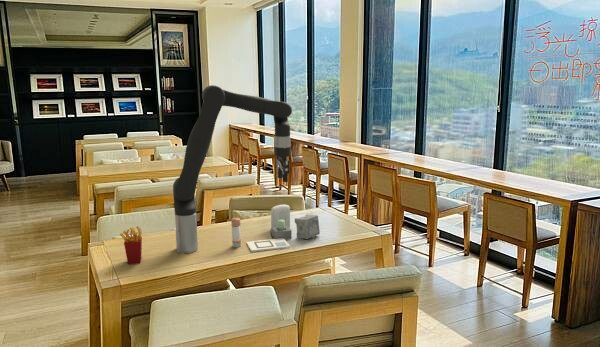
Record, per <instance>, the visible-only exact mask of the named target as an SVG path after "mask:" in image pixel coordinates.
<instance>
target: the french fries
mask: <svg viewBox="0 0 600 347" xmlns="http://www.w3.org/2000/svg"><path fill="white" fill-rule="evenodd" d="M136 229H137V231H138V232H137V231H136V230H135V227H130V228H129V229H127V230H123V232H121V233H120V234H119V235H120V237H121V238H122V239H123V240H124V242H123V245H124V251H125V256H126V261H127V265H135V264H136V263H138V264H141V262H142V248H143V245H142V244H143V243H142V242H143V239H142V238H143V237H142V234H143V233H142V229H141V227H140V225H137V226H136ZM129 232H130V234H129ZM136 265H137V264H136Z"/></svg>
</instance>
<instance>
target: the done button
mask: <svg viewBox="0 0 600 347" xmlns="http://www.w3.org/2000/svg"><path fill="white" fill-rule="evenodd" d="M278 230H285V220H278Z"/></svg>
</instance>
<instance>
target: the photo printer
mask: <svg viewBox="0 0 600 347" xmlns="http://www.w3.org/2000/svg"><path fill="white" fill-rule="evenodd" d="M270 219H271V220H270V221H271V222H270V226H271V227H275V226H278V220H285V225H287V226H288V227H289V228H290V227H291V207H290V205H288V204H277V205H274V206H273V207H271V209H270Z"/></svg>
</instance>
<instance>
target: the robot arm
mask: <svg viewBox="0 0 600 347" xmlns="http://www.w3.org/2000/svg"><path fill="white" fill-rule="evenodd" d="M201 99H202V100H203V101H202V105H201V108H200V112H199V116H198V118H197V120H196V122H195V123H194V125H193V128H192V130H191V132H190V134H189V136H188V140H187V143H186V148H185V151H184V159H183V160H184V161H183V166H182V170H181V172H180V174H179V177H177V178H176V179H175V180H174V182H173V185H172V192H173V195H172V196H173V206H174V207H173V208H174V209H173V210H174V221H175V222H174V223H175V242H176V243H175V244H176V245H175V246H176V252H177V253H178V254H179V253H180V254H181V253H182V254H190V253H194V252H197V251H198V250H199V246H198V245H199V242H198V224H197V223H198V221H197V220H198V219H197V205H196V195H195V194H196V192H197V191H196V190H197V185H198V184H197V183H198V180H199V175H200V172H201V169H202V167H203V164H204V162H205V160H206V156H207V155H208V151H209V148H210V145H211V142H212V139H213V135H214V132H215V131H214V130H215V126H216V122H217V119H218V116H219V115H220V111H221V110H222V107H230V108H236V109H240V110H244V111H247V112H252V113H257V114H260V115H261V114H262V115H269V116H273V121H274V139H273V140H274V142H273V143H274V145H273V146H274V147H273V148H274V149H273V150H274V156H275V158H276V159H275V168H276V170H277V178H278V179H282V182H283V183H288V180H289V179H288V176H289V174H290V173H291V172H290V160H289V159H287V158H288V157H290V156H291V154H292V153H291V152H292V150H291V149H292V148H291V146H292V145H291V143H292V142H291V126H290V123H289V119H288V118H289V117H290V116H291V115H292V112H293V109H292V106H291V104H289V103H288V102H286V101H280V100H279V101H278V100H273V99H269V98H265V97H261V96H255V95H249V94H242V93H235V92H232V91H228V90H225V89H224V88H223V89H222V87H220V86H217V85H213V84H212V85H209V86H208V85H207V87H206V86H205V87H204V88H203V90H202V92H201Z"/></svg>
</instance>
